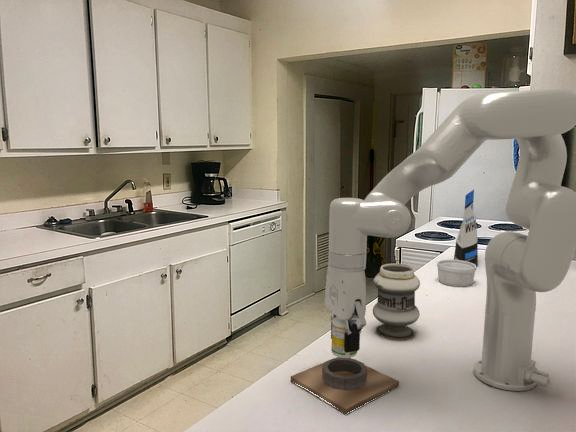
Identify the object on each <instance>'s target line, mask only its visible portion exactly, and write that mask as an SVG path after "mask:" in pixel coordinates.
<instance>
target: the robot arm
mask: <svg viewBox="0 0 576 432" xmlns="http://www.w3.org/2000/svg"><path fill="white" fill-rule="evenodd" d="M575 127H576V92H574V91H573V90H571V89H570V88H566V87H562V86H561V87H560V86H558V87H557V86H556V87H546V88H537V89H526V90H516V91H515V90H513V91H496V92H490V93H483V94H479V95H474V96H469V97H467V98H466V99H464V100H463V101H462V102H460V103H459V104H458V105H457V106H456V108H455V109H453V110H452V112H451V113H450V114H449V115H448V116H446V119H444V120H443V121H442V123H441V124H440V125H439V126H438V127H437V128H436V129H435V130H434V131H433V133H431V134H430V136H429V137H428V138H427V139H426V140H425V141H424V142H423V143H422V144H421V145H420V146H419V148H418V149H416V151H413V152H412V153H411V154H410V155H409V156H407V157H406V158H405V159H404V160H403V161H402V162H400V163H399V164H398V165H397V166H396V167H394V168H392V170H390V172H388V173H387V174H386V175H385V176H384V177H383V178H382V179H381V180H380V181H379V182H378V183H377V184H376V186H374V188H373V189H372V190H371V191H370V192H369V193H368V194H367V195H366V197H365V198H364V199H361V198H357V197H356V198H355V197H338V198H334V199H333V200H331V202H330V204H329V220H328V222H329V223H328V228H329V229H328V260H327V261H328V264H327V270H326V279H325V290H324V291H325V292H324V305H325V307H326V309H328V311H330V322H331V325H330V330H331V331H330V339H331V340H332V321H333V319H334V318H335V317H336V316H337V317H339V318H340V319H341V320H343V321H345V323H346V332H347V333H344V351H345V352H346V353H348V352H354V351H357V352H358V351H360V347H361V346H360V342H361V333H362V331H363V328H364V327H366V325H367V320H366V312H367V311H366V310H367V283H366V282H367V281H366V273H365V270H366V268H367V247H368V246H367V245H368V242H367V241H368V236H370V237H371V236H372V237H380V238H387V239H388V238H391V239H392V238H398V237H399V236H402V235H404V234H405V233H406V232H407V231H408V229H409V228H410V226H411V222H412V217H411V216H412V215H411V213H410V210H409V208H408V207H407V206H406V204H407V203H408V201H410V200H411V199H412V198H413V197H415V195H417V194H419V193H420V192H421V191H423V190H425V189H427V188H430V187H432V186H435V185H438V184H440V183H443V182H445V181H447V180H449V179H450V178H452V177H453V176H454V175H455V174H456V173H457V172H458V171H459V169H461V168H462V166H463V165H465V163H467V161H468V160H469V159H470V158H471V156H473V154H474V153H475V152H476V151H477V150H478V149H479V148H480V147H481V146H482V145H483V144H484V143H485V142H486V141H487V140H488V141H489V140H490V141H492V140H494V141H495V140H516V143H517V146H518V149H519V157H518V163H517V167H516V170H515V174H514V177H513V179H512V180H513V181H512V183H511V188H510V190H509V194H508V197H507V199H506V204H505V215H506V216H507V219H508V220H509V221H510V222H511V223H513V224H514V225H516V226H517V227H520V228H521V227H522V228H524V229H527V230H528V234H527V235H526V234H524V233H520V232H515V231H505V232H501V233H498V234H496V235H495V236H493V237H492V238H491V239H490V240H489V242H488V244H487V245H486V248H485V251H484V267H485V273H486V274H485V275H486V276H485V277H486V296H485V297H486V298H485V310H484V322H483V323H484V324H483V336H482V337H483V338H482V350H481V359H480V360H478V361H476V362H475V363H474V365H473V374H474V375H475V377H476V378H477V379H479V381H481V382H483V383H485V384H486V385H489V386H491V387H494V388H497V389H501V390H504V391H505V390H506V391H513V392H522V391H529V390H531V389H534V388H536V386H537V385H539V386H542V387H545V388H548V387H549V386H550V385H551V378H550V377H549V376H550V375H549V373H548V372H545V371H543V370H540V369H538V368H537V367H536V363H537V362H536V361H535V360H533V359H532V354H533V353H532V351H533V341H534V329H535V317H536V311H537V309H536V308H537V293H547V292H550V291H552V290H555V289H556V288H557V287H558V286H560V285H561V283H562V282H563V281H564V279H565V278H566V276H567V274H568V271H569V269H570V267H571V263H572V260H573V258H574V255H575V251H576V191H575V190H573V189H571V188H569V187H566V186H562V182H563V179H564V173H565V169H566V165H567V160H568V159H567V158H568V153H567V152H568V151H567V146H566V143H565V140H564V138H563V135H562V134H565V133H567V132H569V131H571V130H572V129H573V128H575ZM352 314H355V317H351V316H352ZM350 321H355V324H353V325H352V326H351V324H350Z"/></svg>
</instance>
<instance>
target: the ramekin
mask: <svg viewBox="0 0 576 432" xmlns="http://www.w3.org/2000/svg"><path fill="white" fill-rule="evenodd" d="M436 267H437V278H438V281H439V282H440V283H441V284H442V285H445V286H449V287H455V288H456V287H457V288H467V287H469V286H471V285H472V284H473V282H474V279H475V275H476V271H477V267H476V265H475V264H473V263H470V262H467V261H462V260H454V259H443V260H438V262H437V263H436Z"/></svg>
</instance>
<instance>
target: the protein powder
mask: <svg viewBox="0 0 576 432" xmlns="http://www.w3.org/2000/svg"><path fill="white" fill-rule="evenodd" d="M474 196H475V189H472V190H471V191H470V192H469V193H467V194H465V198H464V212H463V219H462V222H461V225H460V227H459V228H460V229H459V231H458V235H457V237H456V241H455V249H454V255H453V260H462V261H467V262H470V263H473V264H475V265H476V268H478V265H479V262H478V257H479V255H478V253H479V252H478V251H479V250H478V246H479V245H478V230H477V217H476V215H475V211H474Z"/></svg>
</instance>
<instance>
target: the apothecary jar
mask: <svg viewBox="0 0 576 432" xmlns="http://www.w3.org/2000/svg"><path fill="white" fill-rule="evenodd" d="M373 285H374V287H376V288H377V301H376V303H375V304H374V305H373V307H372V315H373V316H374V318H375V319H376V320H377V321H378V322H380V323H382V324H380V325H378V326H377V327H376V330H375V332H376V334H377V335H379V336H381V337H384V339H388V340H391V341H392V340H394V341H407V340H410V339H411V338H413V337H414V336H415V332H414V330H413V328H411V327H409V326H410V325H413V324H415V323H416V322H417V321H418V319H419V318H420V314H421V313H420V310H419V308H418V307H417V305H416V291H417V290H418V289H419V288H420V286H421V282H420V278H419V277H418V276H417V275H415V270H414V267H413V266H411V265H409V264H404V263H386V264H383V265H381V266H380V268H379V272H378V273H377V274H376V275H375V276H374V278H373Z"/></svg>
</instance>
